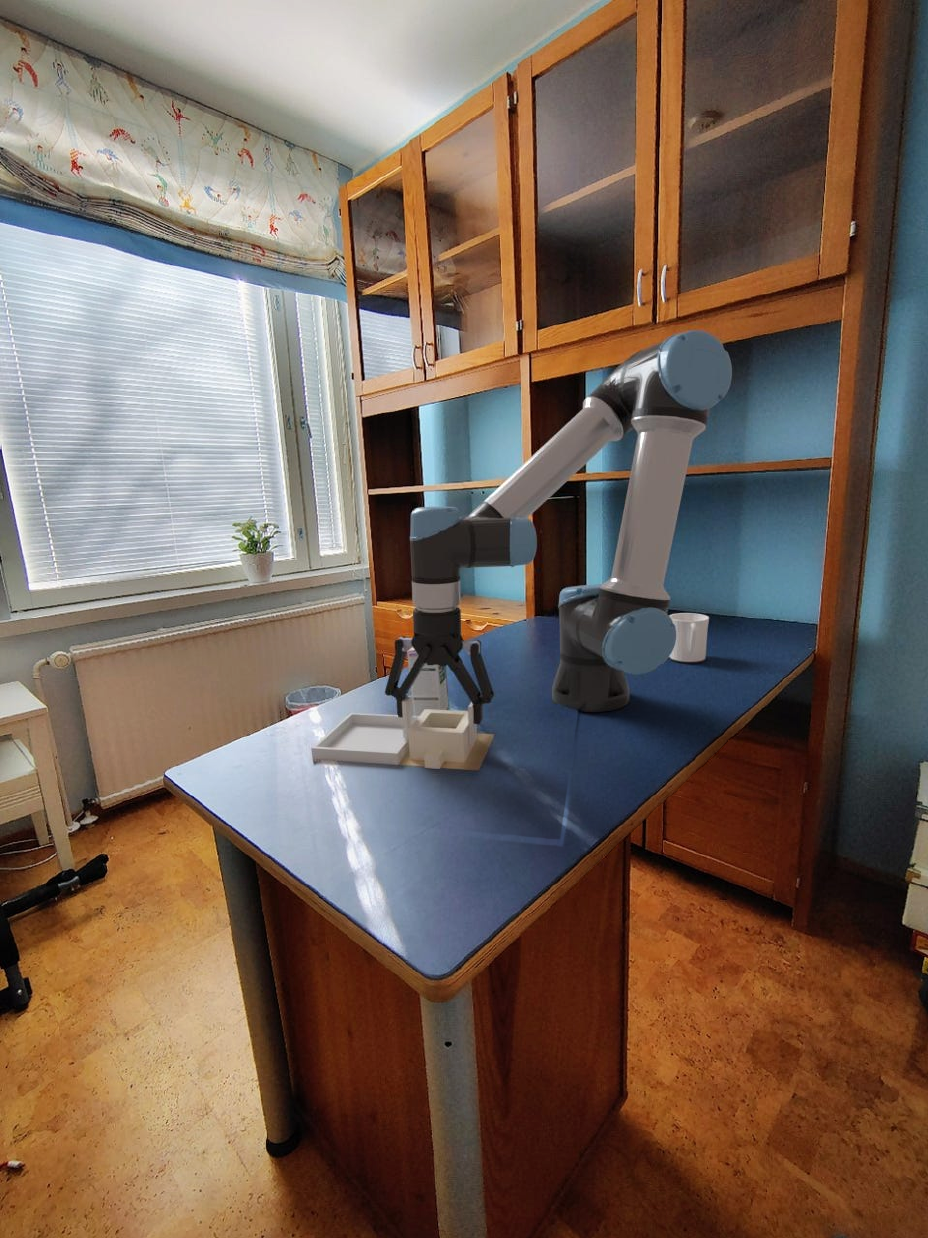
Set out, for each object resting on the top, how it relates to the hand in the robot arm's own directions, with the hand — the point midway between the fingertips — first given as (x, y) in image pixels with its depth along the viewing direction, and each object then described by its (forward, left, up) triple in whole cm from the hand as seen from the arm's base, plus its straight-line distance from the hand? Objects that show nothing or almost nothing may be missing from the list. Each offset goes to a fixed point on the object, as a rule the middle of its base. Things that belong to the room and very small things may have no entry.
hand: (440, 738), depth 95 cm
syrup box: (+6, -14, -3) cm, 15 cm away
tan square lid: (-1, 0, -2) cm, 3 cm away
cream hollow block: (-1, +1, -2) cm, 2 cm away
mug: (-45, -55, -3) cm, 71 cm away
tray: (+13, -1, -2) cm, 13 cm away
